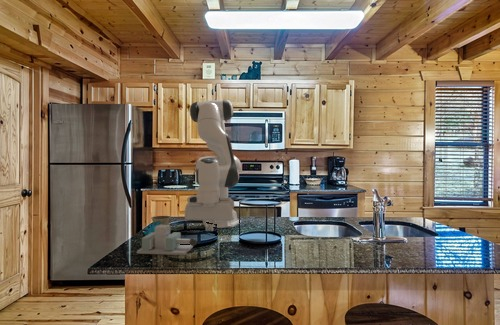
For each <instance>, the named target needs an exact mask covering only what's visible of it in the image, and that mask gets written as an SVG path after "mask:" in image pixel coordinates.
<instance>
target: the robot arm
mask: <svg viewBox="0 0 500 325" xmlns="http://www.w3.org/2000/svg"><path fill="white" fill-rule="evenodd" d="M233 115H234V107H233V105H232V102H231V101H230V100H229V99H211V100H203V101H195V102H193V103H191V105H190V108H189V116H190V119H191V120H192V121H193V122H194V123H196V124H197V127H196V128H197V135H198V136H199V138H200V139H201V140H202V141H204V142H205V144H206V147H207V148H208V150H210V151H212V152H213V153H214V154H215V155H211V156H210V155H209V156H208V155H207V156H203V157H199V158H198V159H197V161H196V164H195V168H196V170H195V183H196V184H197V185H198V190H197V192H198V193H195V194H192V195H190V196H188V197H187V198H186V202H187V203H186V204H185V209H184V219H185V220H187V221H202V224H203V225H204V228H205V231H206V232H213V231H214V228H213V227H215V225H214V224H217V228H216V229H221V228H223V229H225V228H233V227H235V226H237V225H239V224H240V223H242V220H240V219H238V212H237V211H235V209H234V208H235V201H234V200H233V199H232V198H231V197H229V188H231V189H232V188H234V187H235V186H236V185H237V184H239V179H240V171H241V168H242V163H241V160H240V159H239V158H238V157H237V156H236V155H234V150H233V148H232V144H231V140H230V137H229V134H228V133H227V132H226V126H225V123H226V122H227V121H229V120H231V119H232V118H233ZM239 220H240V223H239ZM206 222H209V223H213V224H212V225H211V224H207V223H206Z"/></svg>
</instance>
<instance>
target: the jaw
mask: <svg viewBox="0 0 500 325" xmlns="http://www.w3.org/2000/svg"><path fill="white" fill-rule="evenodd" d="M181 234H182V232H180V231H178V232H177V231H175V232H174V231H173V232H172V233H171V235H169V236H168V237H167V238H165V249H166V251H173V250H174V249H175V248H177V247H178V246H179V245H180V244H190V245H192V246H193V247H194V246H196V245H197V243H198V240H197V238H196V237H192V238H181Z"/></svg>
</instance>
